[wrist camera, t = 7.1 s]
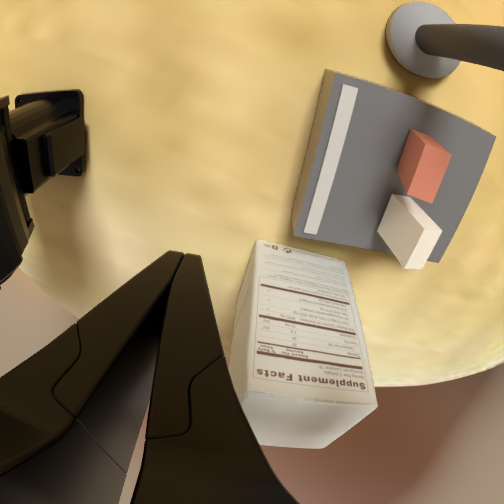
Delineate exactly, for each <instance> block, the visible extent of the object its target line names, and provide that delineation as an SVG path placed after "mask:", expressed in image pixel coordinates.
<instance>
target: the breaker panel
mask: <svg viewBox="0 0 504 504" xmlns="http://www.w3.org/2000/svg"><path fill="white" fill-rule="evenodd" d="M410 128H411V129H414V130H416V131H419V132H421V133H424V134H426V135H429V136H431V137H433V138H434V139H435V140H436V141H437V142H439V143H440V144H441V145H442V146H443V147H444V148H445V149H446V150H447V151H448V152H449V153H450V154H451V155H452V156H451V158H450V161H449V164H448V166H447V169H446V172H445V174H444V177H443V179H442V182H441V184H440V186H439V189H438V191H437V194H436V196H435V198H434V201H433V203H432V204H431V203H429V202H426V201H424V200H421V199H418V198H416V197H413V196H410V195H408V194H407V193H406V191H405V188H404V186H403V184H402V181H401V179H400V177H399V174H398V172H397V167H398V164H399V161H400V158H401V156H402V153H403V150H404V147H405V144H406V141H407V138H408V134H409V131H410ZM495 138H496V136H494V135H492V134H491V133H489V132H487V131H486V130H484V129H482V128H480V127H479V126H477V125H475V124H473V123H471V122H469V121H467V120H465V119H463V118H461V117H459V116H457V115H455V114H453V113H451V112H448V111H446V110H444V109H442V108H440V107H437V106H435V105H433V104H430V103H428V102H425V101H423V100H421V99H418V98H416V97H413V96H410V95H408V94H405V93H402V92H400V91H397V90H394V89H391V88H389V87H386V86H383V85H380V84H377V83H374V82H370V81H367V80H364V79H361V78H357V77H354V76H351V75H347V74H343V73H340V72H336V71H332V70H328V69H325V74H324V78H323V83H322V87H321V92H320V96H319V101H318V105H317V109H316V114H315V118H314V122H313V126H312V131H311V135H310V139H309V143H308V147H307V151H306V156H305V160H304V164H303V168H302V172H301V176H300V180H299V184H298V188H297V192H296V196H295V200H294V204H293V208H292V224H293V235H294V236H297V237H302V238H308V239H314V240H319V241H325V242H331V243H336V244H342V245H347V246H353V247H358V248H363V249H369V250H374V251H379V252H385V253H390V254H393V252H392V251H391V250H390V248H389V247H388V245H387V244H386V243H385V241H384V240H383V238H382V237H381V236H380V234H379V233H378V232H377V230H378V228H379V225H380V223H381V220H382V218H383V216H384V213H385V211H386V208H387V206H388V203H389V201H390V198H391V195H392V194H395V195H401V196H407V197H410V198H411V199H412V200H413V201H414V202H415V203H416V204H417V205H418V206H419V207H420V208H421V209H422V210H423V211H424V212H425V213H426V214H427V215H428V216H429V217H430V218H431V219H432V220H433V221H434V222H435V223H436V225H437V226H438V227H439V228H440V229H441V230H442V233H441V235H440V236H439V238H438V240H437V242H436V244H435V246H434V248H433V250H432V252H431V254H430V256H429V257H428V259H427V261H431V262H436V263H439V261H440V260H441V258H442V256H443V254H444V252H445V250H446V249H447V247H448V245H449V243H450V241H451V239H452V237H453V235H454V233H455V232H456V230H457V228H458V226H459V224H460V222H461V220H462V217H463V215H464V213H465V211H466V209H467V207H468V205H469V203H470V200H471V198H472V196H473V194H474V192H475V189H476V187H477V185H478V182H479V180H480V178H481V175H482V173H483V170H484V168H485V165H486V163H487V160H488V157H489V155H490V152H491V149H492V147H493V144H494V141H495Z"/></svg>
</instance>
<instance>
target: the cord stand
mask: <svg viewBox="0 0 504 504" xmlns="http://www.w3.org/2000/svg"><path fill="white" fill-rule="evenodd" d="M386 38H387V43H388V46H389V48H390V51H391V53H392V55H393V56H394V58H395V59H396V60H397V61H398V63H399V64H400V65H401V66H403V67H404V68H405V69H406V70H408V71H410V72H412V73H414V74H416V75H420V76H423V77H426V78H434V79H436V78H442V77H445V76H447V75H449V74H451V73H452V72H453V71H454V70H455V69H456V68H457V66H458V65H459V63H460V61H465V62H470V63H474V64H478V65H483V66H487V67H491V68H494V69H498V70H502V71H504V27H501V26H489V25H472V24H455V22H454V21H453V20H452V18H451V17H450V16H449V15H448V14H447V13H446V12H445V11H443V10H442V9H441V8H439V7H437V6H435V5H433V4H430V3H427V2H413V3H408V4H404V5H401V6H400V7H398V8H397V9H395V10H394V11H393V12H392V14H391V15H390V17H389V19H388V22H387V26H386Z"/></svg>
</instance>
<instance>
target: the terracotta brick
mask: <svg viewBox="0 0 504 504" xmlns="http://www.w3.org/2000/svg"><path fill="white" fill-rule="evenodd" d="M451 156H452V155H451V154H450V153H449V152H448V151H447V150H446V149H445V148H444V147H443V146H442V145H441V144H440V143H439V142H437V141H436V140H435V139H434V138H433V137H431V136H429V135H426V134H424V133H421V132H419V131H416V130H414V129H411V128H410V131H409V134H408V138H407V141H406V144H405V147H404V150H403V153H402V156H401V158H400V161H399V164H398V167H397V172H398V174H399V177H400V179H401V181H402V184H403V186H404V188H405V191H406V193H407V194H408V195H410V196H413V197H416V198H418V199H421V200H424V201H426V202H429V203H431V204H432V203H433V201H434V198H435V196H436V194H437V191H438V189H439V186H440V184H441V182H442V179H443V177H444V174H445V172H446V169H447V166H448V164H449V161H450V158H451Z"/></svg>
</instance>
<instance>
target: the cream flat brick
mask: <svg viewBox="0 0 504 504" xmlns="http://www.w3.org/2000/svg"><path fill="white" fill-rule="evenodd" d="M377 232H378V233H379V234H380V236H381V237H382V238H383V240H384V241H385V243H386V244H387V245H388V247H389V248H390V250H391V251H392V252H393V254H394V255H395V257H396V258H397V259H398V261H399V262H400V264H401V265H402V267H403V268H404V269H422V268H423V267H424V265H425V263H426V261H427V259H428V257H429V256H430V254H431V252H432V250H433V248H434V246H435V244H436V242H437V240H438V238H439V236H440V235H441V233H442V230H441V229H440V228H439V227H438V226H437V225H436V223H435V222H434V221H433V220H432V219H431V218H430V217H429V216H428V215H427V214H426V213H425V212H424V211H423V210H422V209H421V208H420V207H419V206H418V205H417V204H416V203H415V202H414V201H413V200H412V199H411V198H410V197H407V196H401V195H395V194H392V195H391V198H390V201H389V203H388V206H387V208H386V211H385V213H384V216H383V218H382V220H381V223H380V225H379V228H378V230H377Z"/></svg>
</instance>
